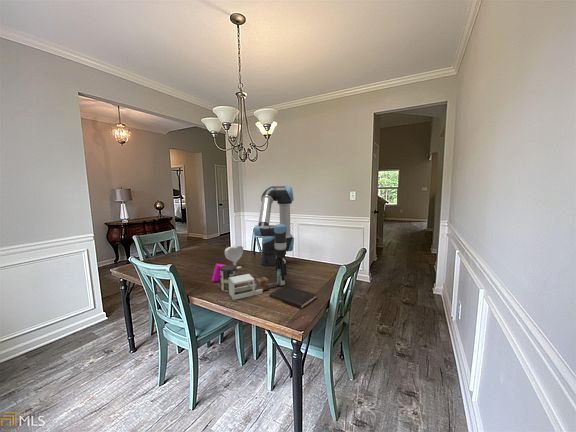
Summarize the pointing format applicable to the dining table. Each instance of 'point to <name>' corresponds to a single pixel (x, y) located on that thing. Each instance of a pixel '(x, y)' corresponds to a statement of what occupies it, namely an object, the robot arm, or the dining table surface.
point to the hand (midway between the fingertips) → (281, 283)
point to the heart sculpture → (234, 254)
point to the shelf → (239, 280)
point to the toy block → (217, 272)
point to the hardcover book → (293, 296)
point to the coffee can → (227, 276)
